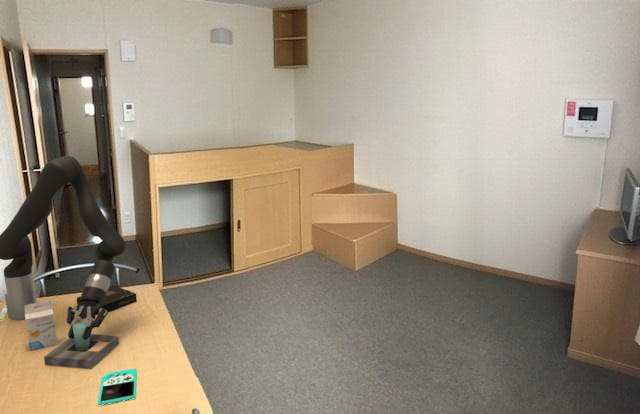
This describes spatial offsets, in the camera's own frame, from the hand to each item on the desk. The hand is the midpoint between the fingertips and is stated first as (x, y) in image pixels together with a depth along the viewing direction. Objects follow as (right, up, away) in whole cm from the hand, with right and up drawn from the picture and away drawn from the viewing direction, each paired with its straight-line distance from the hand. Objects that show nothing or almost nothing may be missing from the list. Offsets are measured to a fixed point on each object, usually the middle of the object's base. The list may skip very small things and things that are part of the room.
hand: (77, 338), depth 156 cm
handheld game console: (+20, -11, -15) cm, 27 cm away
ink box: (-17, -5, +10) cm, 20 cm away
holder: (0, -6, +3) cm, 7 cm away
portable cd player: (-10, +2, +44) cm, 45 cm away
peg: (0, -4, +3) cm, 5 cm away
